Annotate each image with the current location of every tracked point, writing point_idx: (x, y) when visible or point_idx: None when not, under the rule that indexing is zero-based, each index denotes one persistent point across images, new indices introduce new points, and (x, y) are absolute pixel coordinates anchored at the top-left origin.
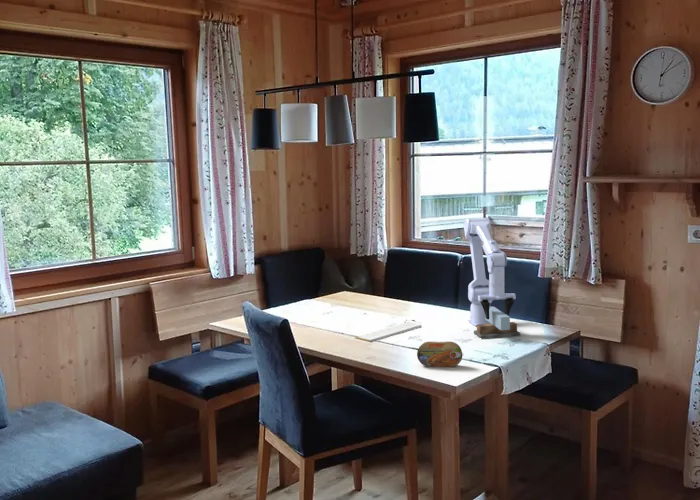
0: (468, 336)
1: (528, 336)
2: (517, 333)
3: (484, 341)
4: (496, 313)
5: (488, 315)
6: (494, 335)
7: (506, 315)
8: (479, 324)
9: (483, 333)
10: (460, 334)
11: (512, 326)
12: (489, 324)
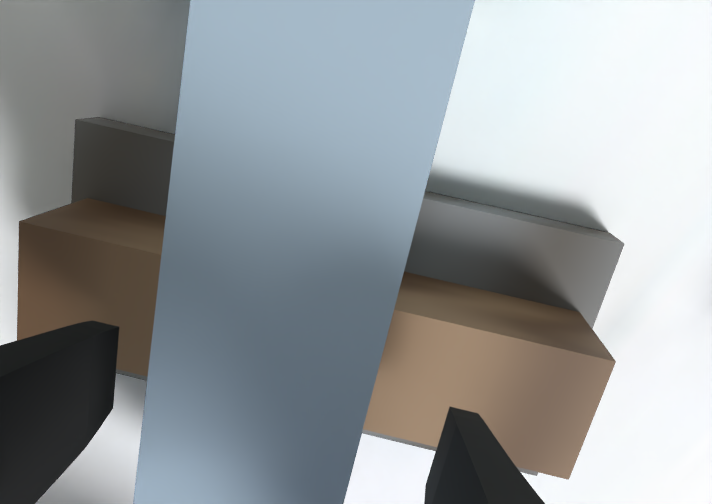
0: (662, 389)
1: (19, 53)
2: (119, 127)
3: (647, 106)
4: (340, 363)
5: (484, 443)
6: (429, 198)
7: (220, 45)
8: (535, 461)
9: (533, 303)
10: (683, 493)
11: (108, 230)
12: (405, 393)
